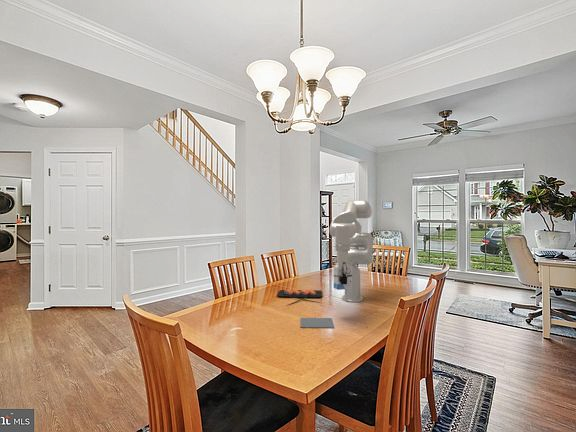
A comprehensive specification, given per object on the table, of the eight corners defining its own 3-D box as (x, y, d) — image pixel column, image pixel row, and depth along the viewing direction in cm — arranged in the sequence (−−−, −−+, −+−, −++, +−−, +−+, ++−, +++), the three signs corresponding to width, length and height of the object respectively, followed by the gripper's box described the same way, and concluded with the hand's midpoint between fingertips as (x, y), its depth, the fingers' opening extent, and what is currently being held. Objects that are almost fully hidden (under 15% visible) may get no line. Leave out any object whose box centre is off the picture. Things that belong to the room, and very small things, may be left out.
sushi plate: (322, 293, 205) (322, 287, 205) (322, 307, 175) (322, 301, 175) (279, 292, 208) (279, 286, 208) (272, 306, 178) (272, 300, 178)
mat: (300, 318, 156) (300, 317, 156) (331, 319, 156) (331, 318, 156) (300, 327, 144) (300, 326, 144) (334, 328, 144) (334, 327, 144)
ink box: (337, 290, 155) (337, 266, 155) (333, 287, 160) (333, 265, 160) (352, 288, 158) (352, 266, 158) (348, 286, 163) (347, 264, 162)
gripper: (333, 246, 167) (333, 278, 168) (337, 250, 150) (337, 286, 150) (347, 246, 167) (347, 279, 167) (353, 250, 150) (353, 286, 150)
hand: (342, 282), depth 159 cm, fingers closed on ink box, 6 cm apart
